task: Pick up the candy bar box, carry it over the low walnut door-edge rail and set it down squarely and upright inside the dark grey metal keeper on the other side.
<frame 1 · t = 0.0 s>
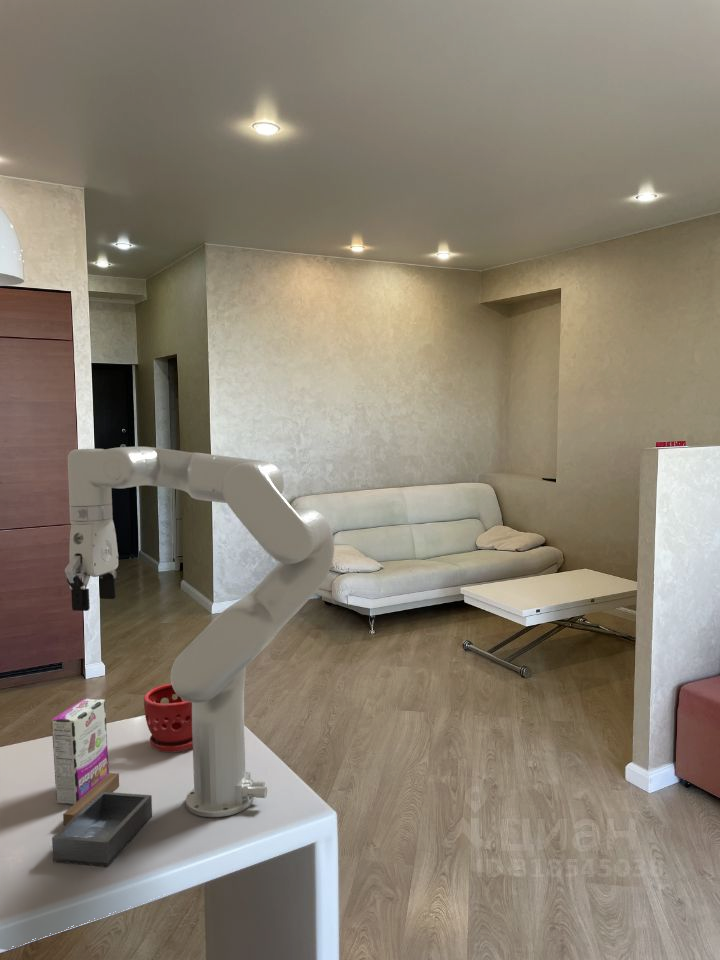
hand: (94, 604, 140), 37 cm above the table, tool pointing down, fingers open, 9 cm apart
keeper: (105, 838, 126), on the table
plant pot: (176, 745, 164), on the table
candy bar box: (82, 792, 143), on the table
door edge rail: (93, 805, 138), on the table
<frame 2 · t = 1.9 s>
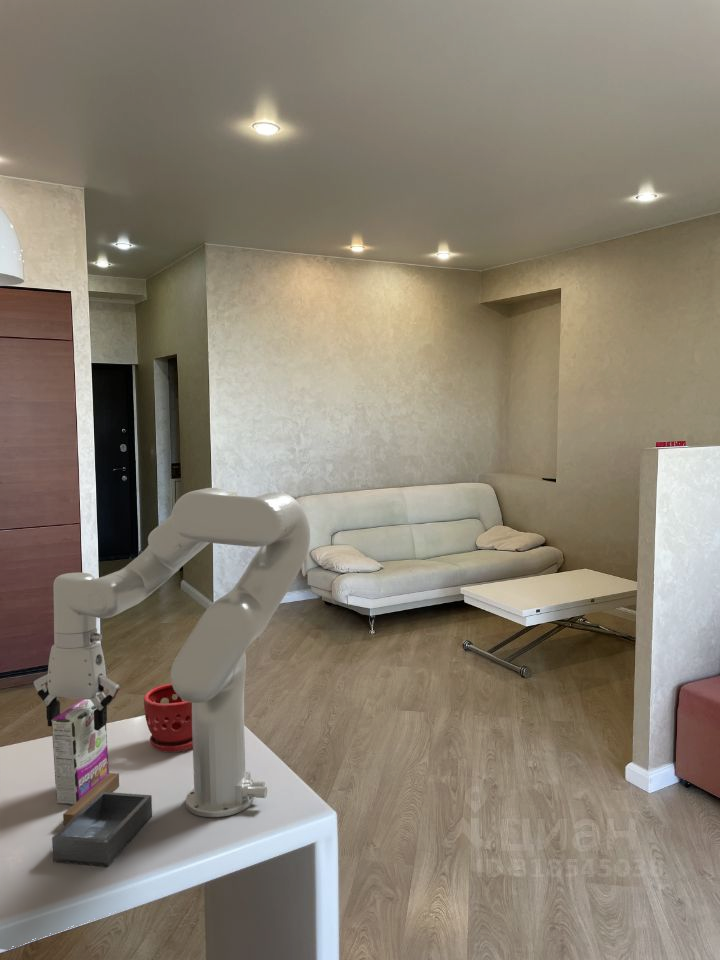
hand: (76, 725, 143), 13 cm above the table, tool pointing down, fingers open, 9 cm apart
nothing on the table moved.
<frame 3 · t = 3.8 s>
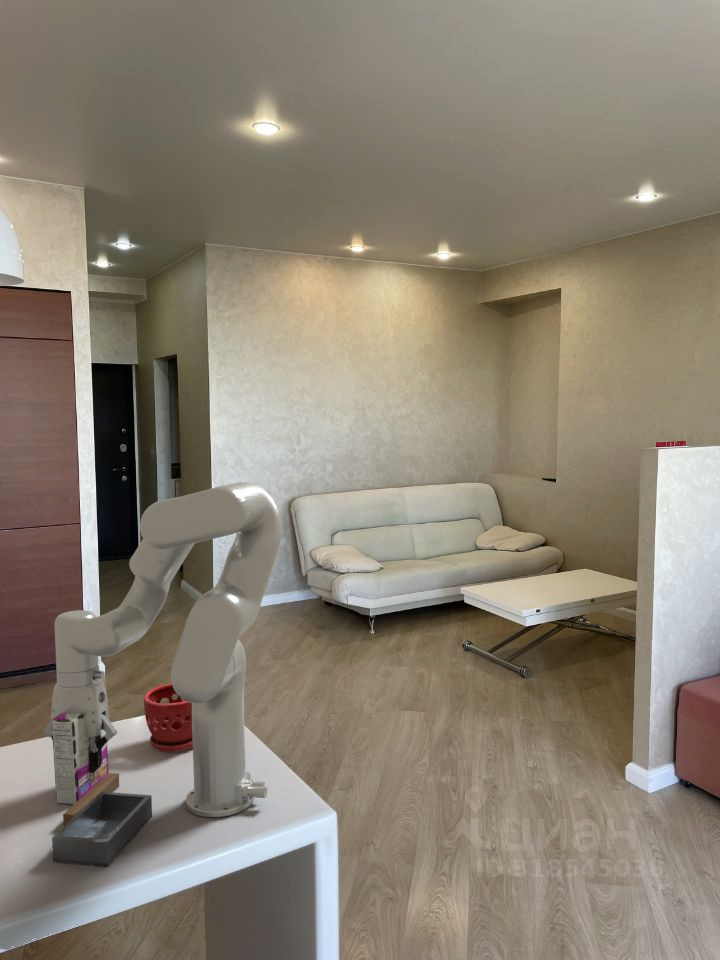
hand: (81, 767, 143), 5 cm above the table, tool pointing down, fingers closed on candy bar box, 5 cm apart
candy bar box: (82, 792, 143), on the table, touching gripper
everything else where it was.
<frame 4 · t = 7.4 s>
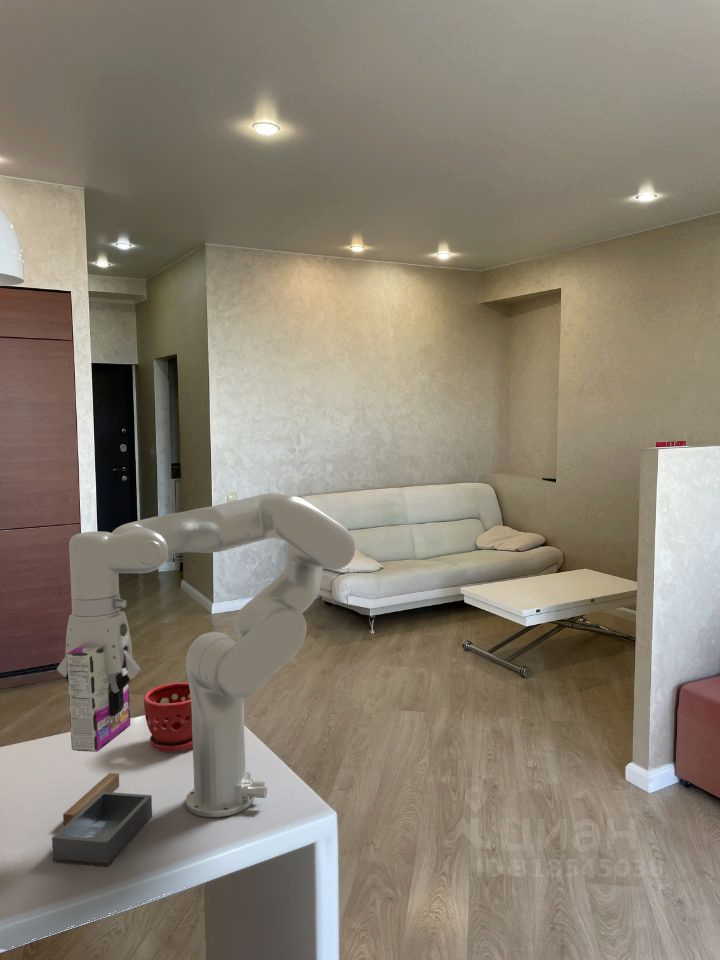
hand: (100, 711, 125), 22 cm above the table, tool pointing down, fingers closed on candy bar box, 5 cm apart
candy bar box: (101, 739, 125), point 17 cm above the table, touching gripper
everything else where it was.
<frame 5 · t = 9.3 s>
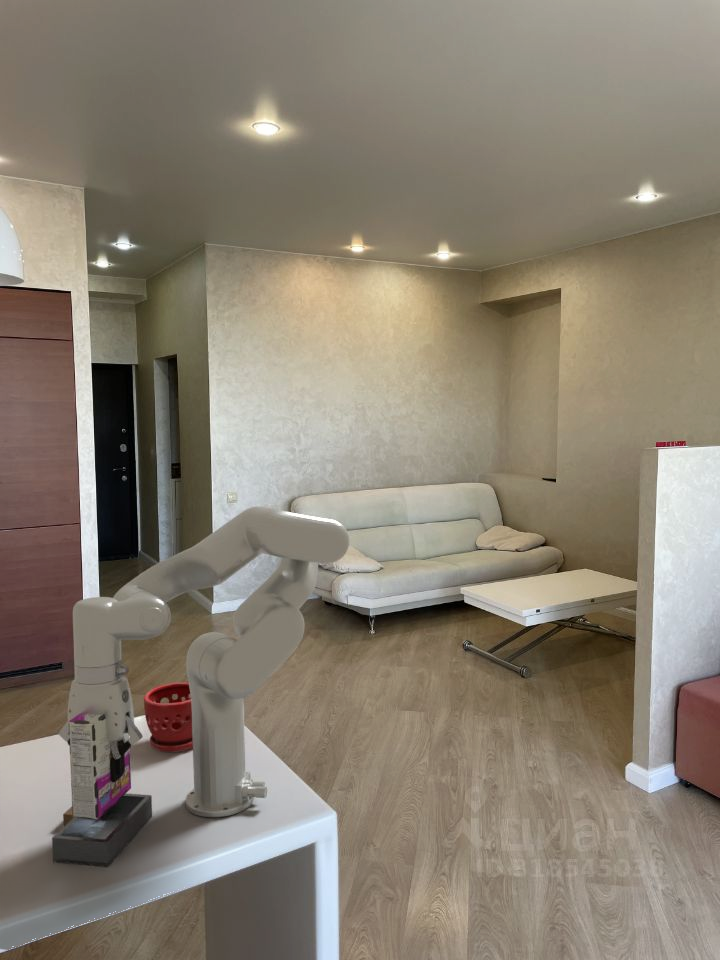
hand: (101, 776, 126), 11 cm above the table, tool pointing down, fingers closed on candy bar box, 5 cm apart
candy bar box: (102, 804, 126), point 6 cm above the table, touching gripper
everything else where it was.
when the fingers open (6 cm above the table, at t = 11.1 s): candy bar box drops 1 cm, resting on keeper.
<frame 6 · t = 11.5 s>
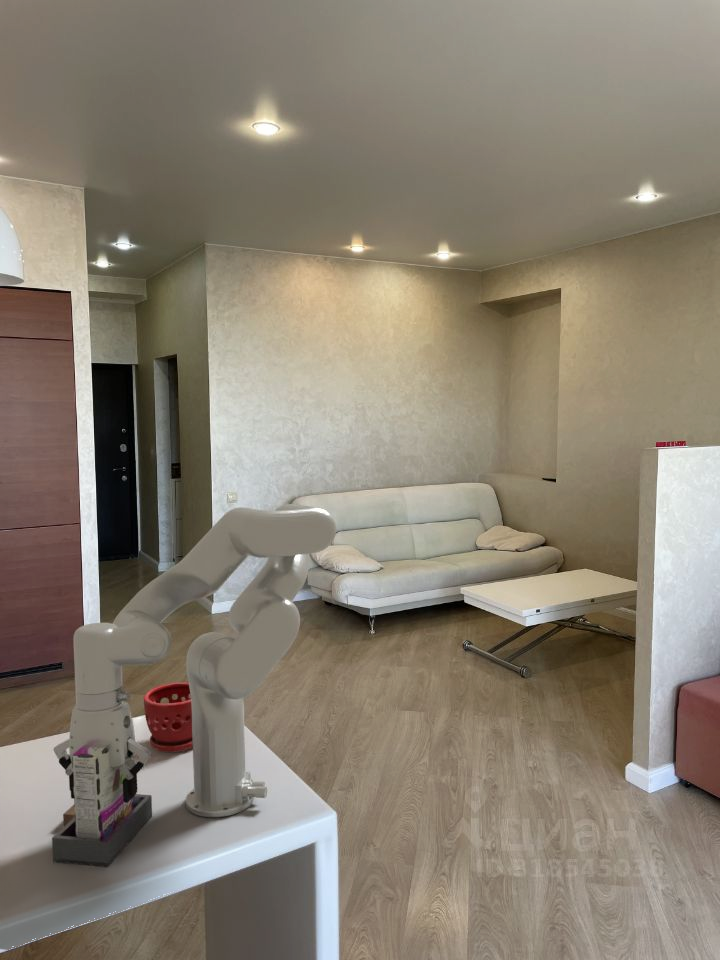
hand: (103, 796, 126), 7 cm above the table, tool pointing down, fingers open, 9 cm apart
candy bar box: (105, 835, 127), resting on keeper
everything else where it was.
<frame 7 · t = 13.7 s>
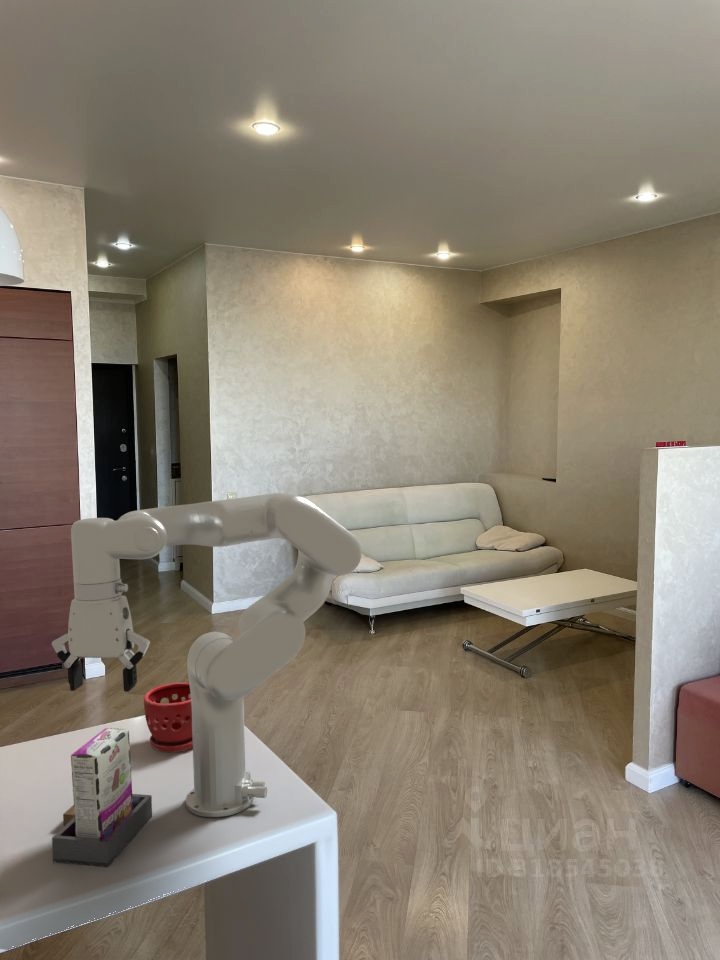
hand: (103, 688, 128), 25 cm above the table, tool pointing down, fingers open, 9 cm apart
nothing on the table moved.
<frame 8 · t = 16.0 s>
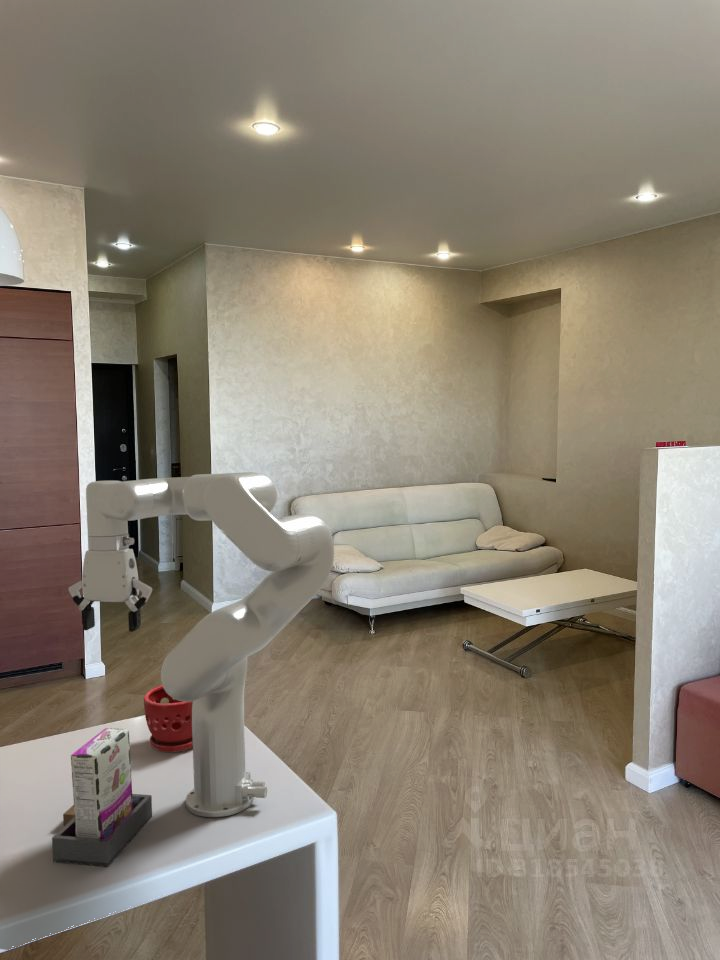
hand: (111, 629, 147), 30 cm above the table, tool pointing down, fingers open, 9 cm apart
nothing on the table moved.
at the end: candy bar box 0.1 cm off-centre on the keeper, point 0.4 cm above the keeper's base; candy bar box tilted 0°; the gripper is holding nothing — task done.
